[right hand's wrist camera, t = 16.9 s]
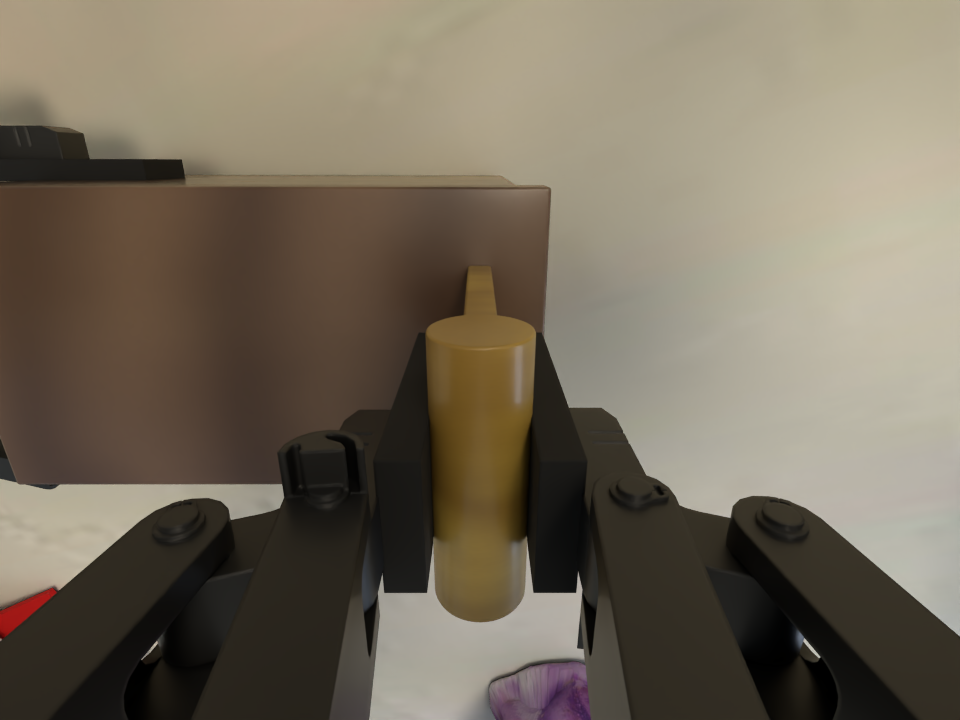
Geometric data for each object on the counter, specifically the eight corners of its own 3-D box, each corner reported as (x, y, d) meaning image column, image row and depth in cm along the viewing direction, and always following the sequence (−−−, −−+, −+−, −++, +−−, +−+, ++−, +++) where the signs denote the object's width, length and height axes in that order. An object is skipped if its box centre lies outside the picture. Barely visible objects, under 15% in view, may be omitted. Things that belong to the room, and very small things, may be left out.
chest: (501, 175, 26) (516, 184, 16) (498, 360, 30) (509, 465, 20) (155, 175, 26) (-54, 184, 16) (195, 360, 30) (45, 465, 19)
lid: (546, 185, 16) (623, 212, 7) (533, 465, 20) (575, 695, 11) (-56, 184, 16) (-660, 209, 7) (44, 465, 19) (-286, 698, 11)
